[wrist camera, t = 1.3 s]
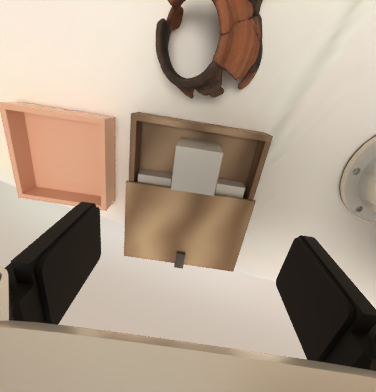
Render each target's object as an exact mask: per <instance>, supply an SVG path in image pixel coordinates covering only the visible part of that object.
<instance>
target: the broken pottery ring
mask: <svg viewBox="0 0 376 392" xmlns="http://www.w3.org/2000/svg"><path fill="white" fill-rule="evenodd" d="M184 1H185V0H168V2H169V3H170V5H172V8H171V10H170V12H169V15H168V18H167V21H166V20H165V19H161V20H159V21H158V23H157V28H156V52H157V57H158V60H159V63H160V64H161V68H162V70H163V73H164V74H165V75H166V77H167V78H168V79H169V80H170V81H171V82H172V83H173V84H175V85H176V86H177V87H178V88H179V89H180V90H181V91H182V92H183V93H184V94H186V95H187V96H188V97H190V98H193V91H194V89H195V90H196V91H197V92H199V93H200V94H202V95H210V96H211V97H217V96H219V95H222V94H223V93H224V89H223V88H222V87H221V85H222V70H223V69H225V70H226V71H227V72H228V73H230V74H231V75H232V76H233V77H234V78H235V79H236V80H238V79H241V78H243V77H244V76H245V75H246V73H247V71H248V72H249V73H248V75H247V76H246V77H245V78H244V80H243V81H242V82H241V83H240V84H239V85H238V88H239V89H243V88H244V87H246V86H247V85H248V84H249V83H250V81H251V80H252V79H253V77H254V76H255V74H256V72H257V70H258V68H259V66H260V62H261V58H262V19H261V16H260V14H259V11H260V6H261V3H262V0H212V1H213V3H214V5H215V7H216V9H217V12H218V15H219V21H220V37H219V43H218V47H217V50H216V53H215V55H214V57H213V61H212V62H211V64H210V65H209V66H208V67H207V68H206V70H205V71H204V72H202V73H201V74H200V75H198V76H196V77H194V78H188V79H186V78H183V77H181V76H179V75H178V74H177V73H176V72H175V70H174V69H173V67H172V65H171V62H170V58H169V53H168V42H169V37H170V33H171V30H174V29H177V28H178V27H179V26H180V23H181V20H182V16H183V8H182V7H181V4H182V3H183V2H184Z"/></svg>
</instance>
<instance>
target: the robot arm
mask: <svg viewBox="0 0 376 392" xmlns="http://www.w3.org/2000/svg"><path fill="white" fill-rule="evenodd" d="M340 190H341V197H342V200H343V202H344V204H345V205H346V207H347V208H348V209H349V210H350V211H351V212H353V213H354V214H355V215H357V216H359V217H360V218H362V219H365V220H368V221H373V222H376V136H375V137H373V138H372V139H371V140H369V141H368V142H367V143H365V144H364V145H363V146H362V147H361V148H360V149H359V150H358V151H357V152H356V153H355V154H354V156H353V157H352V158H351V160H350V161H349V163H348V165H347V166H346V168H345V170H344V173H343V176H342V179H341V186H340ZM100 255H101V238H100V209H99V207H96V204H95V203H89V202H80V203H79V204H78V205H77V206H75V207H74V208H73V209H72V210H71V211H70V212H68V213H67V214H66V215H65V216H64V217H62V218H61V219H60V220H59V221H58V222H57V223H55V224H54V225H53V226H52V227H51V228H49V229H48V230H47V231H46V232H45V233H44V234H42V235H41V236H40V237H39V238H38V239H36V240H35V241H34V242H33V243H32V244H31V245H29V246H28V247H27V248H26V249H25V250H23V251H22V252H21V253H20V254H19V255H18V256H16V257H15V258H14V259H13V260H12V261H11V263H10V264H9V265H8V266H7V267H6V268H3V267H0V392H376V309H375V308H374V307H373V306H372V305H371V303H370V302H369V301H368V300H367V299H366V298H365V296H364V295H363V294H362V293H361V292H360V291H359V289H358V288H357V287H356V286H355V285H354V283H353V282H352V281H351V280H350V279H349V278H348V276H347V275H346V274H345V273H344V272H343V271H342V269H341V268H340V267H339V266H338V265H337V264H336V262H335V261H334V260H333V259H332V258H331V257H330V255H329V254H328V253H327V252H326V251H325V249H324V248H323V247H322V246H321V245H320V244H319V242H318V241H317V240H316V239H315V238H313V237H308V236H299V237H298V238H295V239H294V241H293V243H292V245H291V248H290V250H289V252H288V254H287V257H286V259H285V261H284V263H283V266H282V268H281V270H280V272H279V275H278V277H277V280H276V286H277V289H278V291H279V293H280V296H281V297H282V301H283V303H284V305H285V308H286V310H287V312H288V315H289V317H290V320H291V322H292V324H293V327H294V329H295V331H296V334H297V336H298V338H299V341H300V343H301V345H302V348H303V350H304V353H305V355H306V357H307V360H305V359H298V358H291V357H285V356H278V355H272V354H265V353H258V352H251V351H245V350H238V349H231V348H224V347H217V346H210V345H203V344H196V343H189V342H182V341H175V340H167V339H161V338H154V337H146V336H140V335H132V334H125V333H118V332H111V331H103V330H96V329H88V328H81V327H73V326H64V325H58V324H59V322H60V321H61V319H62V317H63V316H64V314H65V313H66V311H67V310H68V308H69V306H70V305H71V303H72V302H73V300H74V298H75V297H76V295H77V294H78V292H79V291H80V289H81V287H82V286H83V284H84V283H85V281H86V280H87V277H88V276H89V275H90V273H91V272H92V270H93V268H94V267H95V265H96V264H97V262H98V260H99V258H100Z"/></svg>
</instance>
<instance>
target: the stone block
mask: <svg viewBox="0 0 376 392" xmlns="http://www.w3.org/2000/svg"><path fill="white" fill-rule="evenodd" d="M222 157H223V151H222V149H221V148H220V146H219V144H218V142H215V141H208V140H202V139H196V138H190V137H183V136H181V137H180V139H179V141H178V143H177V145H176V151H175V159H174V167H173V175H172V183H171V189H172V190H178V191H185V192H191V193H198V194H204V195H211V196H214V193H215V188H216V184H217V179H218V175H219V170H220V166H221V161H222Z"/></svg>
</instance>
